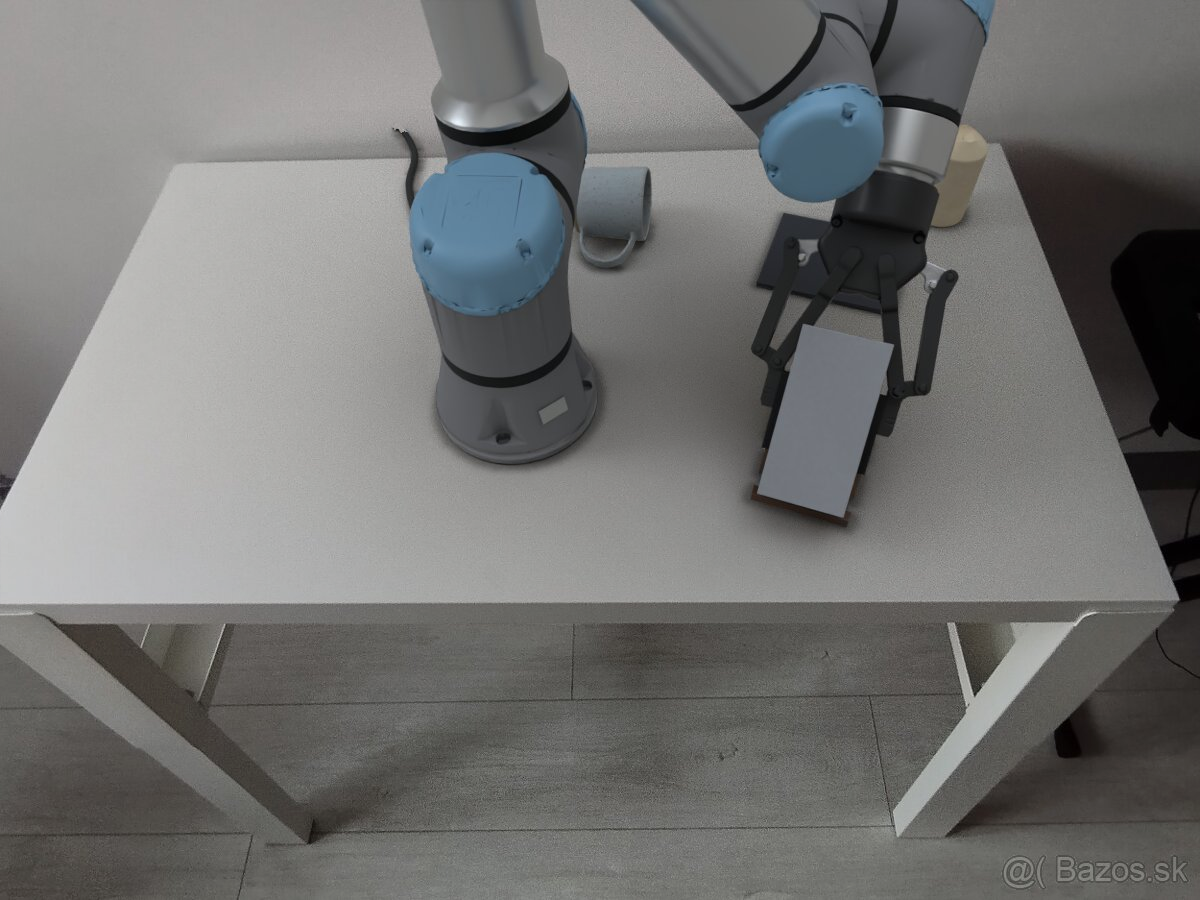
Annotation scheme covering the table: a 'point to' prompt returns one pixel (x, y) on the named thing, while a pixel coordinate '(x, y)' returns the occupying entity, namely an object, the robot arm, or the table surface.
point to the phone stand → (801, 509)
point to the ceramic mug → (614, 208)
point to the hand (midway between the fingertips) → (812, 458)
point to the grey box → (824, 419)
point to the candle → (960, 177)
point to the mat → (812, 272)
